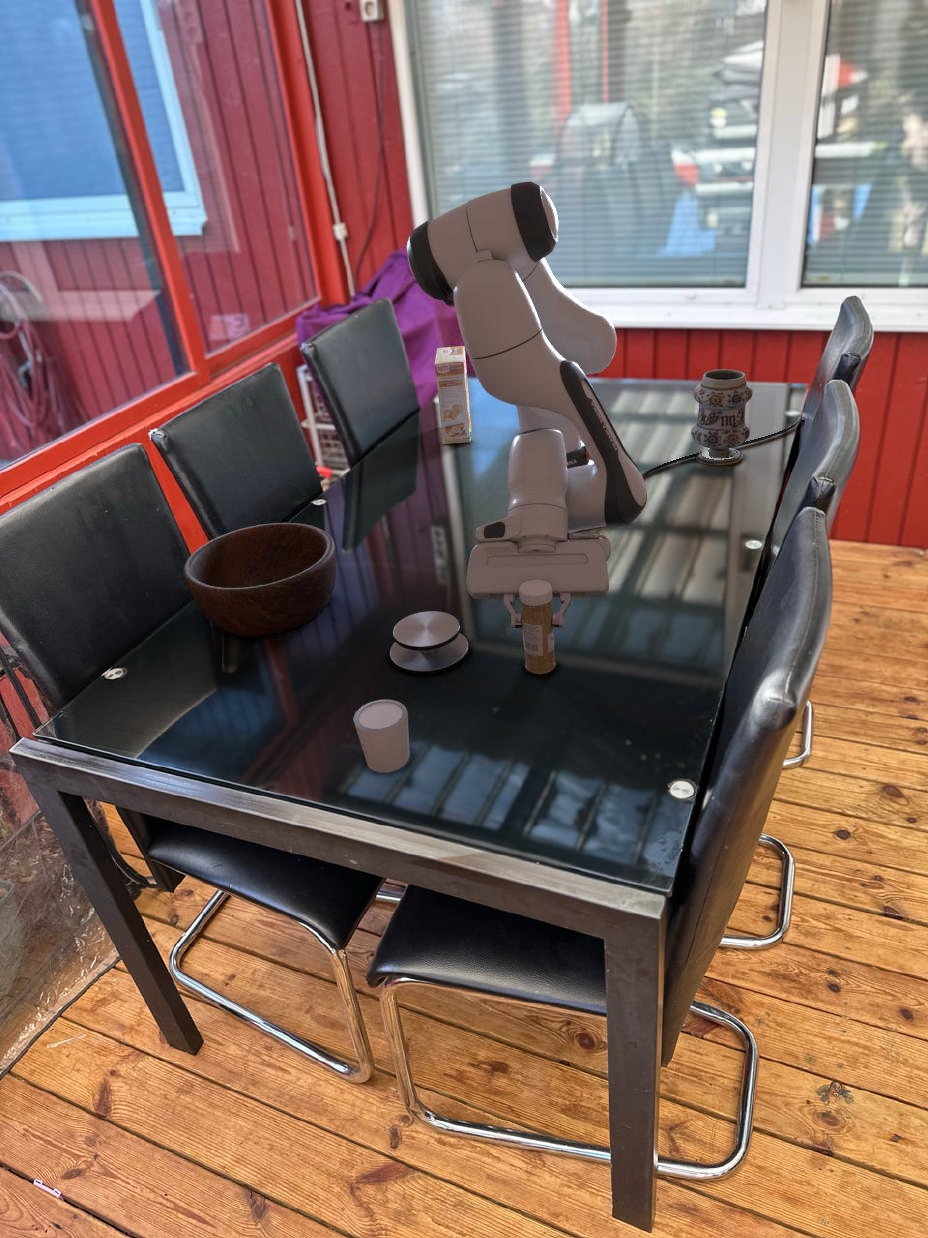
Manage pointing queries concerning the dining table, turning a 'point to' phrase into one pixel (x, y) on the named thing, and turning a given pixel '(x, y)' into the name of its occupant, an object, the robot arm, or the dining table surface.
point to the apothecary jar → (721, 415)
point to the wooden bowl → (263, 577)
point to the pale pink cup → (383, 734)
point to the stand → (428, 643)
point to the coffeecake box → (453, 394)
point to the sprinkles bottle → (537, 626)
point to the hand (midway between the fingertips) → (537, 627)
